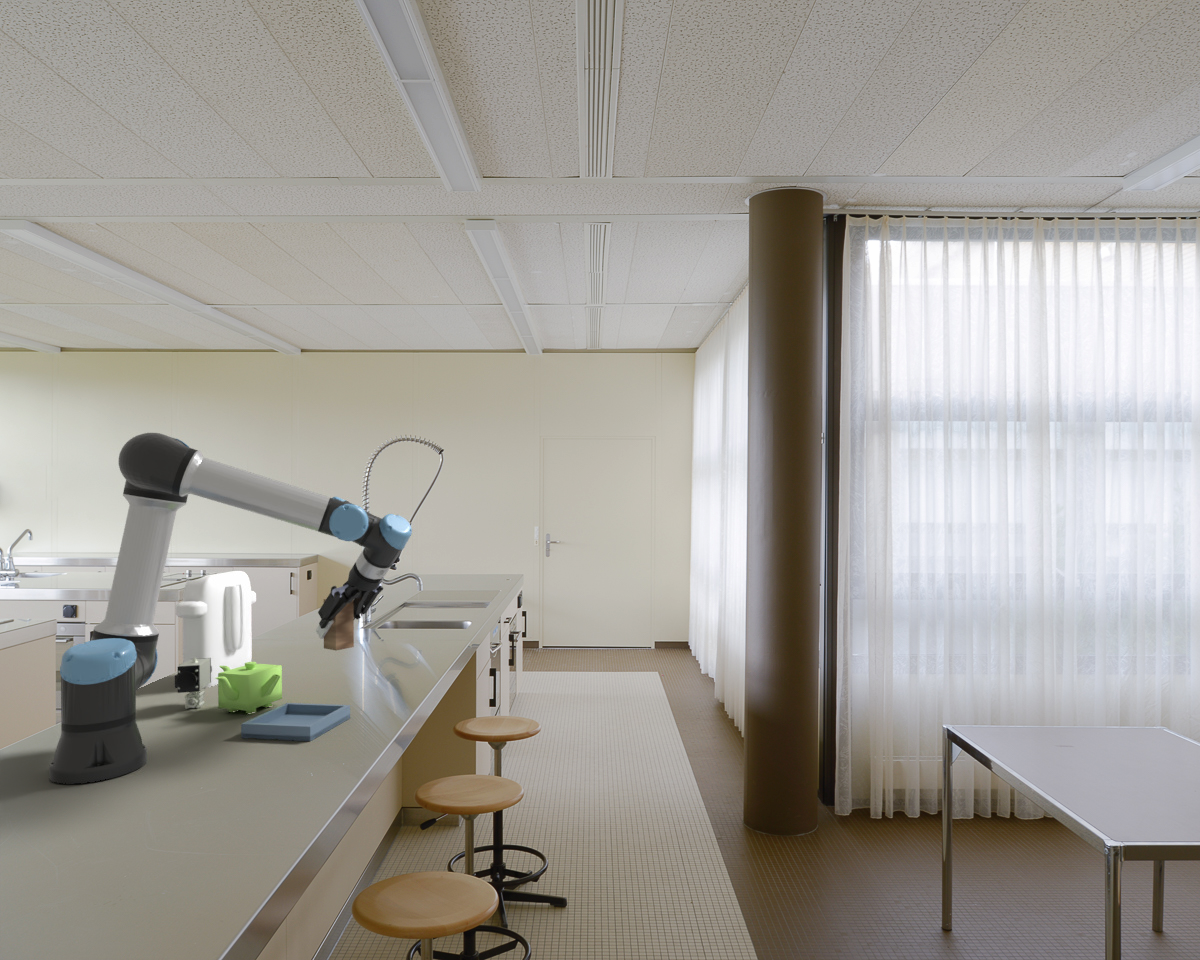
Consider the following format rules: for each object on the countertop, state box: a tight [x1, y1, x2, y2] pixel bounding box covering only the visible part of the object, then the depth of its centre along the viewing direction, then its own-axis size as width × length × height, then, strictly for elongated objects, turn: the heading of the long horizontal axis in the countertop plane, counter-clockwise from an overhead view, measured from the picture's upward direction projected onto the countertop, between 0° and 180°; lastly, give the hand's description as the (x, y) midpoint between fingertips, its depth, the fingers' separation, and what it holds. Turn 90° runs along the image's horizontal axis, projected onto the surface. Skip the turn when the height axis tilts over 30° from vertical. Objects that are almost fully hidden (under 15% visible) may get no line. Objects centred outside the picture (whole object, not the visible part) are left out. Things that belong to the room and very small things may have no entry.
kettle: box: [215, 661, 283, 714], centre depth 177 cm, size 15×14×11 cm
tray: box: [240, 702, 351, 742], centre depth 162 cm, size 16×16×3 cm
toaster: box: [175, 570, 257, 689], centre depth 208 cm, size 27×11×30 cm, turn 171°
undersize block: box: [323, 598, 355, 651], centre depth 181 cm, size 5×5×14 cm
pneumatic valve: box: [174, 657, 212, 710], centre depth 180 cm, size 6×12×12 cm, turn 11°
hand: (329, 632), depth 183 cm, fingers closed on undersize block, 5 cm apart
